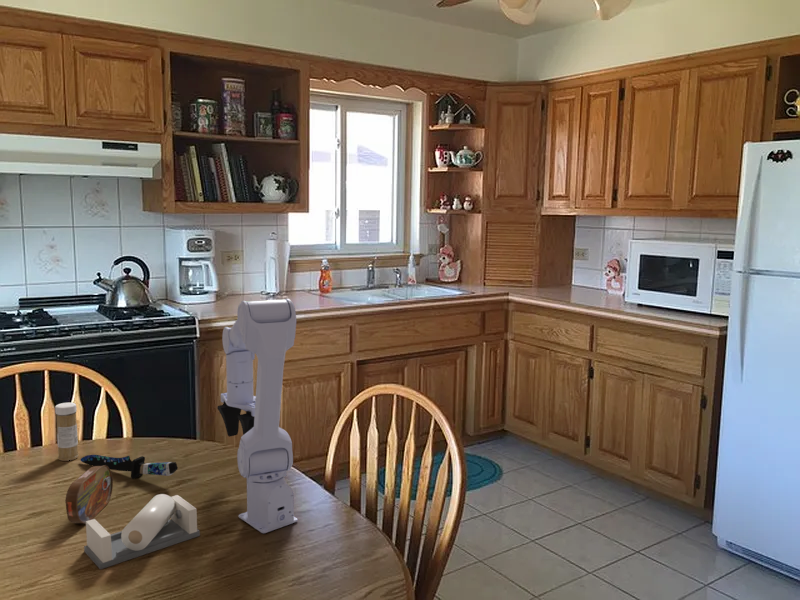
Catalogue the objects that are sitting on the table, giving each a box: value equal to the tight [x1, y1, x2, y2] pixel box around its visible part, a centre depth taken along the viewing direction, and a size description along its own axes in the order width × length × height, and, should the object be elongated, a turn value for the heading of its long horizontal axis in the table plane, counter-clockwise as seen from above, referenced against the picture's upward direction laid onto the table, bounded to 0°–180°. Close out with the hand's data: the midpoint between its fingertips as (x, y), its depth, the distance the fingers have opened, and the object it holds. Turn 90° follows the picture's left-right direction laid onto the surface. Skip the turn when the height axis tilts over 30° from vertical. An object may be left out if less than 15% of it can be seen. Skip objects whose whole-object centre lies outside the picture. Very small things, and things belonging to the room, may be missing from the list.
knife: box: [80, 454, 179, 480], centre depth 154 cm, size 31×3×4 cm, turn 61°
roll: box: [121, 493, 176, 551], centre depth 122 cm, size 5×12×5 cm, turn 178°
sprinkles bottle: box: [54, 401, 80, 462], centre depth 163 cm, size 5×5×14 cm
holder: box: [83, 494, 201, 570], centre depth 123 cm, size 8×18×6 cm, turn 133°
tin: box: [64, 465, 114, 525], centre depth 134 cm, size 15×3×8 cm, turn 179°
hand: (241, 439), depth 151 cm, fingers open, 7 cm apart
